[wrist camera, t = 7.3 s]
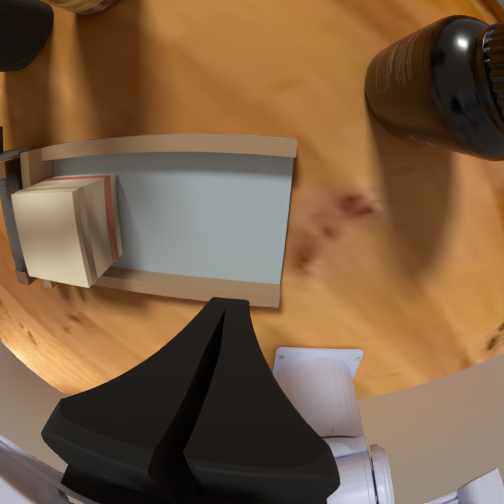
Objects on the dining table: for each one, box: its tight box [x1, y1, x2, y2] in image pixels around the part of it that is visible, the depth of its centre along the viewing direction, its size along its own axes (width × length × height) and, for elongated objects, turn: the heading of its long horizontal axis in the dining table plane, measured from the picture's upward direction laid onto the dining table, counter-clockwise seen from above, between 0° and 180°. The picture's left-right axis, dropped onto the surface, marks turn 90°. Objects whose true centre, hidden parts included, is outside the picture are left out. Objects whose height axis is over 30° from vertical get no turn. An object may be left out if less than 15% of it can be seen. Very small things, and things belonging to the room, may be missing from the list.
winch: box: [0, 126, 37, 285], centre depth 17 cm, size 13×4×5 cm, turn 177°
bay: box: [20, 134, 298, 308], centre depth 17 cm, size 11×19×4 cm, turn 86°
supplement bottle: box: [365, 15, 504, 161], centre depth 9 cm, size 7×7×12 cm
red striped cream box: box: [11, 173, 123, 288], centre depth 16 cm, size 6×6×5 cm
